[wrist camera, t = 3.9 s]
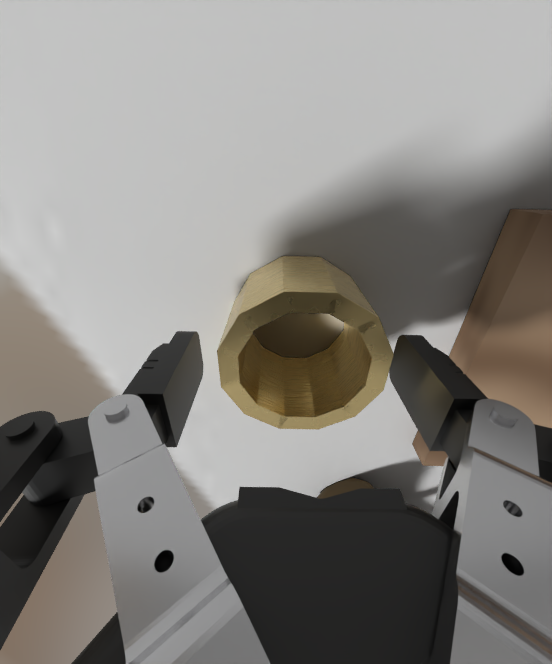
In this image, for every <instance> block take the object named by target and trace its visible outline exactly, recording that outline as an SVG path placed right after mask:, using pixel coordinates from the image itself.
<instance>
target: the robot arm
mask: <svg viewBox="0 0 552 664" xmlns="http://www.w3.org/2000/svg"><path fill="white" fill-rule="evenodd" d="M389 373H390V379H391V382H392V384H393V386H394V387H395V389H396V391H397V393H398V395H399V396H400V398H401V400H402V402H403V404H404V405H405V407H406V409H407V411H408V413H409V414H410V416H411V418H412V420H413V422H414V423H415V425H416V427H417V429H418V431H419V432H420V434H421V436H422V438H423V440H424V442H425V443H426V445H427V447H428V449H429V451H445V452H446V454H447V455H448V457H447V458H446V460H445V463H444V466H443V471H442V475H441V479H440V483H439V487H438V491H437V495H436V499H435V503H434V507H433V510H432V513H431V514H429V513H427V512H426V511H424V510H422V509H420V508H417V507H415V506H412V505H410V504H406V503H405V502H404V499H403V497H402V494H401V492H400V489H367V488H360V489H356V490H353V491H349V492H346V493H342V494H338V495H335V496H331V497H328V498H323V499H319V498H315V497H311V496H308V495H304V494H300V493H297V492H293V491H290V490H286V489H283V488H276V487H240V489H239V497H238V500H237V501H234V502H230V503H228V504H226V505H223V506H221V507H219V508H217V509H216V510H214V511H212V512H211V513H209V514H208V515H206V516H205V517H204V518H202V519H201V520H200V518H199V515H198V513H197V511H196V509H195V507H194V505H193V503H192V500H191V498H190V496H189V494H188V492H187V490H186V488H185V485H184V483H183V481H182V479H181V477H180V475H179V473H178V470H177V468H176V466H175V464H174V462H173V460H172V458H171V455H170V453H169V451H168V449H167V447H177V445H178V442H179V439H180V436H181V434H182V431H183V428H184V426H185V423H186V420H187V417H188V415H189V412H190V409H191V406H192V404H193V401H194V398H195V396H196V393H197V390H198V387H199V385H200V382H201V379H202V375H203V360H202V354H201V347H200V340H199V335H198V333H197V332H187V331H178V332H176V334H175V335H174V337H173V338H172V340H171V341H170V343H169V344H162V345H161V346H159V347H158V348H156V349H155V350H153V351H152V353H151V354H150V356H149V357H148V358H147V361H145V363H144V364H143V365H142V367H141V369H140V370H139V371H138V373H137V374H136V375H135V377H134V378H133V380H132V381H131V383H130V384H129V385H128V387H127V388H126V390H125V391H124V393H123V394H122V395H118V396H115V397H112V398H109V399H107V400H105V401H103V402H102V403H100V404H99V405H98V406H97V407H96V408H94V410H93V411H92V412H91V413H90V415H89V416H88V417H84V418H80V419H75V420H71V421H66V422H61V423H58V422H57V421H56V419H55V417H54V415H53V414H51V413H50V412H46V411H37V412H31V413H28V414H24V415H21V416H19V417H17V418H14V419H12V420H10V421H9V422H7V423H5V424H4V425H2V426H1V427H0V522H1V520H2V519H3V517H4V516H5V514H6V513H7V512H8V510H9V509H10V508H11V506H12V505H13V504H14V502H15V501H16V500H17V498H18V497H19V496H20V494H21V493H23V494H24V495H23V497H22V498H21V500H20V501H19V502H18V504H17V505H16V506H15V508H14V509H13V511H12V512H11V513H10V515H9V516H8V517H7V519H6V520H5V522H4V523H3V524H2V526H1V527H0V650H1V648H2V646H3V644H4V642H5V640H6V639H7V637H8V635H9V633H10V631H11V630H12V628H13V626H14V624H15V622H16V620H17V618H18V616H19V615H20V613H21V611H22V609H23V607H24V606H25V604H26V602H27V600H28V598H29V596H30V594H31V592H32V591H33V589H34V587H35V585H36V583H37V581H38V580H39V578H40V576H41V574H42V572H43V570H44V569H45V567H46V565H47V563H48V561H49V559H50V557H51V555H52V554H53V552H54V550H55V548H56V546H57V544H58V543H59V541H60V539H61V537H62V535H63V533H64V531H65V530H66V528H67V526H68V524H69V522H70V520H71V518H72V517H73V515H74V513H75V511H76V509H77V507H78V506H79V504H80V502H81V500H82V498H83V496H84V494H87V493H90V492H94V491H96V496H97V501H98V507H99V512H100V517H101V523H102V529H103V534H104V540H105V545H106V551H107V556H108V561H109V567H110V573H111V577H112V584H113V589H114V594H115V600H116V606H117V611H118V612H117V613H116V614H115V615H114V616H113V617H112V618H111V620H110V621H109V622H108V623H107V624H106V625H105V627H103V629H102V630H101V631H100V632H99V633H98V634H97V635H96V637H95V638H94V639H93V640H92V641H91V642H90V643H89V644H88V646H87V647H86V648H85V649H84V650H83V651H82V652H81V653H80V655H79V656H78V657H77V658H76V659H75V660H74V661H73V662H72V664H552V428H548V427H544V426H540V425H535V424H533V422H532V421H531V419H530V418H529V417H528V416H527V415H526V414H524V413H523V412H522V411H520V410H519V409H517V408H515V407H514V406H511V405H509V404H507V403H505V402H502V401H498V400H494V399H488V398H487V397H486V396H485V395H484V393H483V392H482V391H481V390H480V389H479V388H478V387H477V386H476V385H475V384H474V383H473V382H472V381H471V380H470V379H469V378H468V377H467V375H466V374H463V371H462V370H461V369H460V368H459V367H458V366H456V364H455V363H454V362H453V361H452V360H451V359H450V357H449V356H448V355H446V354H444V353H443V352H441V351H439V350H438V349H436V348H433V347H432V346H431V345H430V344H429V342H428V341H427V340H426V339H425V338H424V337H423V336H421V335H401V336H399V338H398V340H397V343H396V347H395V350H394V356H393V359H392V362H391V366H390V370H389Z"/></svg>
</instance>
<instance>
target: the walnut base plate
mask: <svg viewBox="0 0 552 664" xmlns="http://www.w3.org/2000/svg"><path fill="white" fill-rule="evenodd" d="M449 357H450V359H451V360H452V361H453V362H454V363H455V364H456V366H458V367H459V368H460V369H461V370H462V371H463V374H466V375H467V377H468V378H469V379H470V380H471V381H472V382H473V383H474V384H475V385H476V386H477V387H478V388H479V389H480V390H481V391H482V392H483V393H484V395H485V396H486V397H487V398H488V399H494V400H498V401H502V402H505V403H507V404H509V405H511V406H514V407H515V408H517V409H519V410H520V411H522V412H523V413H524V414H526V415H527V416H528V417H529V418H530V419H531V421H532V422H533V424H535V425H540V426H544V427H548V428H552V210H538V209H510V212H509V214H508V217H507V219H506V221H505V224H504V226H503V229H502V231H501V233H500V236H499V238H498V241H497V243H496V245H495V248H494V250H493V252H492V255H491V257H490V260H489V262H488V264H487V267H486V269H485V272H484V274H483V276H482V279H481V281H480V283H479V286H478V288H477V291H476V293H475V295H474V298H473V300H472V303H471V305H470V307H469V310H468V312H467V315H466V317H465V319H464V322H463V324H462V326H461V329H460V331H459V334H458V336H457V338H456V341H455V343H454V346H453V348H452V350H451V353H450V355H449ZM412 444H413V446H414V449H415V451H416V453H417V455H418V457H419V459H420V461H421V463H422V465H424V466H444V463H445V460H446V458H447V457H448V455H447V454H446V452H445V451H429V449H428V447H427V445H426V443H425V442H424V440H423V438H422V436H421V434H420V432H419V431H418V432H417V434H416V436H415V439H414V441H413V443H412Z"/></svg>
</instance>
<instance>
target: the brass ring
mask: <svg viewBox="0 0 552 664" xmlns="http://www.w3.org/2000/svg"><path fill="white" fill-rule="evenodd" d="M288 313H325V314H330V315H332V316H334V317H336V318H337V319H339V320H341V321H343V322H344V329H343V332H342V333H341V334H340V335H339V336H338V338H337V339H336V340H335V341H334V342H333V344H332V345H331V346H330V347H329V348H328V349H326V350H324V351H321V352H319V353H317V354H314V355H312V356H310V357H308V358H285V357H281V356H279V355H277V354H275V353H273V352H271V351H269V350H267V349H265V348H263V347H262V346H261V344H260V343H259V341H258V340H257V338H256V337H255V336H254V334H253V332H254V331H255V329H257V328H259V327H261V326H263V325H265V324H267V323H269V322H271V321H273V320H275V319H277V318H279V317H282V316H284V315H286V314H288ZM217 354H218V363H219V372H220V381H221V387H222V388H223V390H224V391H225V392H226V393H227V394H228V395H229V397H230V398H231V399H232V400H233V401H234V402H235V404H236V405H237V406H238V407H239V408H240V409H241V411H242V412H243V413H244V414H246V415H248V416H251V417H253V418H255V419H258V420H260V421H262V422H265V423H267V424H270V425H272V426H274V427H277V428H279V429H321V428H323V427H326V426H329V425H332V424H335V423H338V422H340V421H343V420H346V419H349V418H352V417H355V416H356V415H357V414H358V413H359V412H360V411H362V410H363V409H364V408H365V407H366V406H367V405H368V404H369V403H370V402H371V401H372V400H373V399H374V398H376V397H377V396H378V395H379V394H380V393H381V392H382V391H383V390H384V387H385V383H386V380H387V376H388V373H389V369H390V366H391V362H392V359H393V356H394V354H393V351H392V349H391V346H390V344H389V341H388V339H387V337H386V334H385V332H384V329H383V327H382V324H381V322H380V319H379V317H378V316H377V314H376V313H375V311H374V310H373V308H372V307H371V306H370V304H369V303H368V301H367V300H366V298H365V297H364V295H363V294H362V292H361V291H360V290H359V288H358V287H357V285H356V284H355V282H354V281H353V279H352V278H351V276H350V275H348V274H346V273H345V272H343V271H342V270H340V269H339V268H337V267H335V266H334V265H332V264H331V263H329V262H328V261H326V260H324V259H323V258H321V257H306V256H282V257H280V258H278V259H276V260H274V261H273V262H271V263H269V264H267V265H265V266H263V267H262V268H260V269H258V270H256V271H254V272H253V273H251V274H250V275H249V277H248V279H247V280H246V282H245V284H244V286H243V287H242V289H241V291H240V293H239V294H238V296H237V298H236V300H235V301H234V304H233V307H232V310H231V313H230V315H229V318H228V321H227V324H226V327H225V330H224V333H223V335H222V338H221V341H220V344H219V347H218V350H217Z"/></svg>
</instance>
